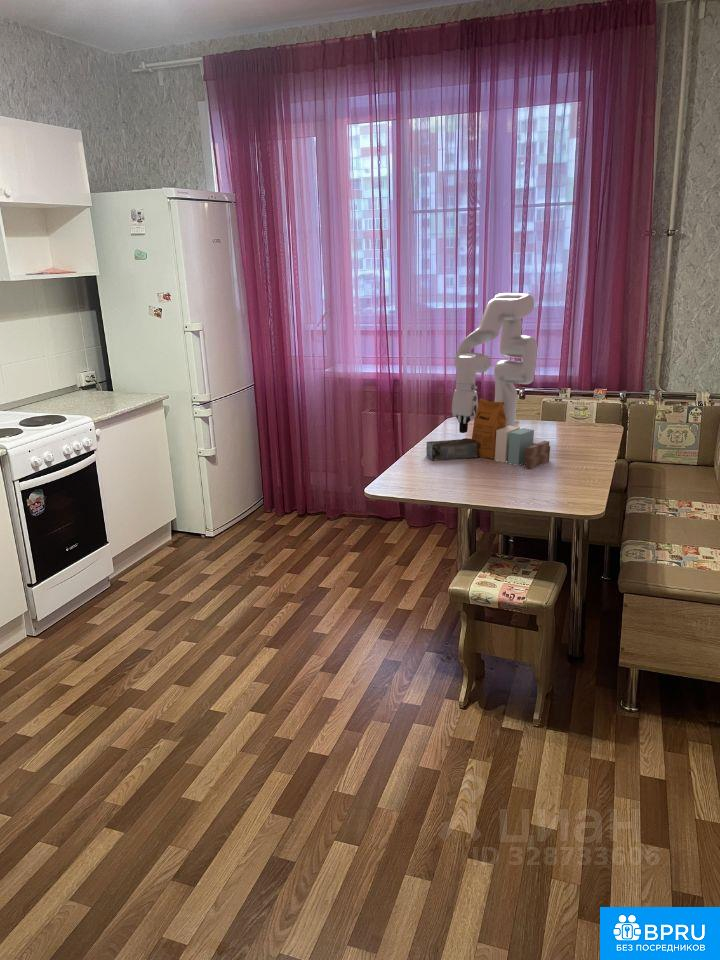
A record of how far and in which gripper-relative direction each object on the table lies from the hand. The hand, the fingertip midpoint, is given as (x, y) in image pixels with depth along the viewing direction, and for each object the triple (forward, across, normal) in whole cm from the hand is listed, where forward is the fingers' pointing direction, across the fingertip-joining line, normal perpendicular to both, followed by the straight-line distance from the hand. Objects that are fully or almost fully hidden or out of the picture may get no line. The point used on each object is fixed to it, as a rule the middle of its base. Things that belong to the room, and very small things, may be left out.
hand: (463, 432), depth 297 cm
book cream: (+7, -20, 0) cm, 22 cm away
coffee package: (+7, -12, 0) cm, 14 cm away
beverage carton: (+7, -4, +12) cm, 15 cm away
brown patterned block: (+7, -24, -1) cm, 26 cm away
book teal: (+7, -26, 0) cm, 27 cm away
